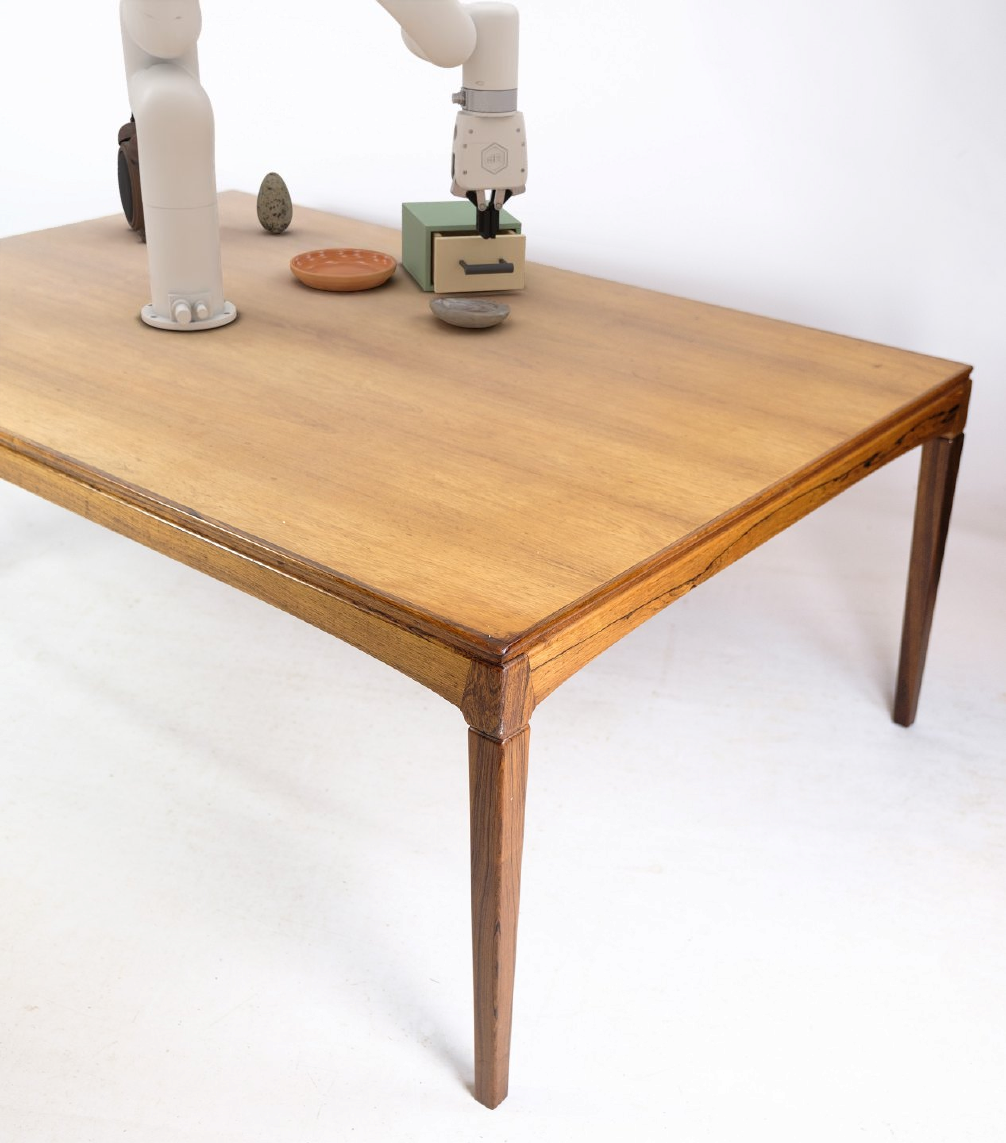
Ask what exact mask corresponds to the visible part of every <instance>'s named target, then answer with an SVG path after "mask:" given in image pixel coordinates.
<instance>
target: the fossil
mask: <svg viewBox="0 0 1006 1143" xmlns="http://www.w3.org/2000/svg"><path fill="white" fill-rule="evenodd" d="M428 305H429V309H430V310H431V313H433V315H435V316H436V317H437V318H438V319H440V320H442V321H443V322H445V323H447V324H450V325H453V326H457V327H461V328H467V329H468V328H469V329H471V328H473V329H478V328H479V329H481V328H482V329H483V328H489V327H493V326H496V325H498V324H499V323H501V322H503V321H504V320H505V319H506V318H507V317H508V316H509V315H510V313H511V311H512V308H511V307H510V305H509V304H506V303H501V302H498V301H495V300H493V301H492V300H489V299H488V300H487V299H479V298H461V297H455V298H454V297H449V298H448V297H446V298H430V299H429V300H428Z"/></svg>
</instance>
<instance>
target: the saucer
mask: <svg viewBox="0 0 1006 1143" xmlns="http://www.w3.org/2000/svg"><path fill="white" fill-rule="evenodd" d="M397 266H398V261H397V259H396V258H395V257H393V256H392V255H389V254H388V253H384V252H381V251H377V250H372V249H365V248H354V247H353V248H350V247H349V248H348V247H347V248H346V247H344V248H343V247H341V248H340V247H339V248H337V247H336V248H335V247H334V248H324V249H316V250H311V251H307V252H302V253H299V254H297V255H295V256H294V257H292V258H291V259H290V261H289V268H290V272H291V273H292V274H293V275H294V276H295V277H296V278H297V279H298V280H300V281H301V282H302V283H303V284H304V285H305V286H307V287H310V288H313V289H315V290H322V291H329V292H356V291H363V290H370V289H373V288H377V287H379V286H381V285H383V284H384V283H385V282H386V281H387V280H388V279H389V278H391V277H392V276H393V274H394V273H395V272H396V271H397Z"/></svg>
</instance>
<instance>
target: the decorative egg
mask: <svg viewBox="0 0 1006 1143" xmlns="http://www.w3.org/2000/svg"><path fill="white" fill-rule="evenodd" d="M258 189H259V190H258V193H257V199H256V214H257V219H258V221H259V223H260V225H261V226H262V228H263V229H264V230H266V231H267V232H269V233H271V234H280V233H282V232H284V231H285V230H287V229H288V227H289V226H290V225H291V222H292V220H293V213H294V212H293V202H292V197H291V194H290V192H289V189H288V186H287V184H286V182H285V180H284V179H283V178H282V176H281V175H279V173H277V172H274V171H272V172H271V171H270V172H268V173H266V174H265V176H264V178H263V179H262V181H261V184H260V186H259V188H258Z"/></svg>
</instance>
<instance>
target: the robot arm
mask: <svg viewBox="0 0 1006 1143" xmlns="http://www.w3.org/2000/svg"><path fill="white" fill-rule="evenodd" d="M375 2H376V3H378V4H379V5H380V6H381V7H382V8H383V9H384V10H385V11H386V12H387V13H388V14H389V15H390V16H391V17H392V18H393V19H394V20H395V21H396V22H397V24H398V25H399V26H400V34H401V35H400V36H401V39H402V41H403V44H404V45H405V47H406V48H407V49H408V51H409V52H410V53H411V54H412V55H414V56H415V57H417V58H419V59H421V60H422V61H425V62H427V63H430V64H432V65H434V66H436V67H439V68H443V69H454V68H456V67H460V66H461V69H462V72H461V73H462V75H461V76H462V81H461V82H462V84H461V85H462V86H461V87H460V90H459V91H458V92H453V93H452V94H451V103H452V104H455V105H456V104H457V105H459V106H460V108H461V110H458V111H457V113H456V117H455V121H454V130H453V135H452V137H453V138H452V143H451V155H450V156H451V159H450V176H451V180H452V181H451V185H450V190H449V192H450V194H451V195H452V196H454V197H457V198H462V199H467V200H468V201H471V203H472V204H473V205H474V206H475V207H476V230H477V232H479V235H480V236H481V237H482V238H484V239H488V238H491V239H496V231H499V211H500V210H501V209H502V208H503V207H504V205H505V204H506V203H507V202H508V201H509V200H510V199H511V197H515V196H519V195H522V194H524V193H525V192H526V191H527V189H526V185H527V182H528V176H529V175H528V174H529V173H528V172H529V170H528V168H529V166H528V164H529V162H528V161H529V160H528V145H527V143H528V142H527V132H526V130H527V129H526V122H525V116H524V113H523V112H522V111H520V110H518V94H519V93H518V92H519V91H518V86H519V52H520V51H519V50H520V13H519V12H520V11H519V9H518V8H517V7H516V6H515V5H514V4H512V3H508V2H502V1H475V2H474V1H473V2H471V3H462V2H461V1H460V0H375ZM118 7H119V8H118V10H119V24H120V34H121V43H122V53H123V54H122V55H123V61H124V71H125V80H126V87H127V95H128V102H129V107H130V110H131V112H132V113H133V116H134V118H135V123H136V131H137V141H138V155H139V169H140V181H141V192H142V202H143V210H144V221H145V239H146V241H145V242H146V249H147V250H146V252H147V263H148V272H149V283H150V284H149V285H150V295H151V302H149V303H147V304H145V306H143V307H142V308H141V311H140V314H141V320H142V321H143V322H144V323H146V324H147V325H149V326H151V327H155V328H158V329H162V330H170V331H200V330H209V329H213V328H218V327H221V326H224V325H227V324H229V323H232V322H233V321H234V320H235V319H236V318H237V314H238V313H237V307H236V306H235V304H233V303H232V302H231V301H228V300H225V294H224V280H223V264H222V253H221V252H222V251H221V237H220V221H219V220H220V219H219V208H218V206H219V205H218V192H217V177H216V176H217V175H216V125H215V124H216V123H215V114H214V108H213V105H212V102H211V99H210V97H209V95H208V93H207V91H206V89H205V88H204V86H203V85H202V84H201V76H200V64H199V52H198V41H199V39H200V36H201V32H202V27H203V16H202V9H201V4H200V0H119V6H118ZM487 190H489V191H490V195H489V199H488V200H489V203H488V206H487V205H486V200H487V199H486V191H487Z"/></svg>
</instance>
